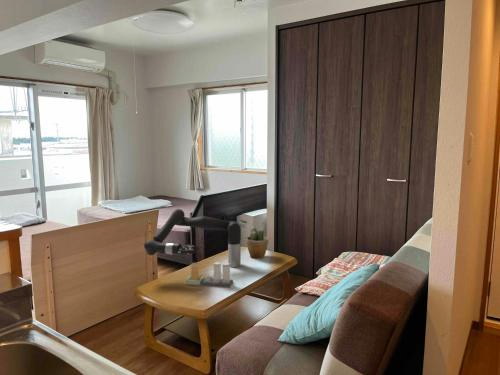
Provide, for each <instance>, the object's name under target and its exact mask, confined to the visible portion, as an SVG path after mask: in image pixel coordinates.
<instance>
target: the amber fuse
mask: <svg viewBox="0 0 500 375" xmlns="http://www.w3.org/2000/svg"><path fill="white" fill-rule="evenodd" d="M199 265H200V264H199V262H192V263H191V264H190V268H191V269H190V270H191V271H190V275H191V280H198V281H199V276H200V272H199V268H200V266H199Z"/></svg>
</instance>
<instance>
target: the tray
mask: <svg viewBox="0 0 500 375" xmlns="http://www.w3.org/2000/svg"><path fill="white" fill-rule="evenodd" d="M205 278H206V276H205V275H199V281H198V280H191V274H190V275H189V276H187V278H186V279H185V280H184V283H185V285H186V286H187V285H188V286H197V287H198V286H200V287H201V286H202V281H203V280H204V279H205Z"/></svg>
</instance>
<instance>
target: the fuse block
mask: <svg viewBox="0 0 500 375" xmlns="http://www.w3.org/2000/svg"><path fill="white" fill-rule="evenodd" d="M233 284H234V279H232V278H230V282H229V283H228V280H223V278H221V281H220V282H219V279H214V277H213V276H212V275H207V276H206V277H205V279H204V280H203V281H202V284H201V287H202V286H203V287H205V286H206V287H215V288H231V286H232V285H233Z"/></svg>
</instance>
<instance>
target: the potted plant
mask: <svg viewBox="0 0 500 375" xmlns="http://www.w3.org/2000/svg"><path fill="white" fill-rule="evenodd" d="M264 234H265V229H264V228H262V227H261V228H259V230H257V227H256V226H252V227H251V228H250V236H246V238H245V241H246V242H245V243H246V246H247V250H248V253H249V257H250V259H253V260H262V259H264V258H265V255H266V253H267V248H268V245H269V240H270V239H269V237H268V236H266V235H265V236H264Z"/></svg>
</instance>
